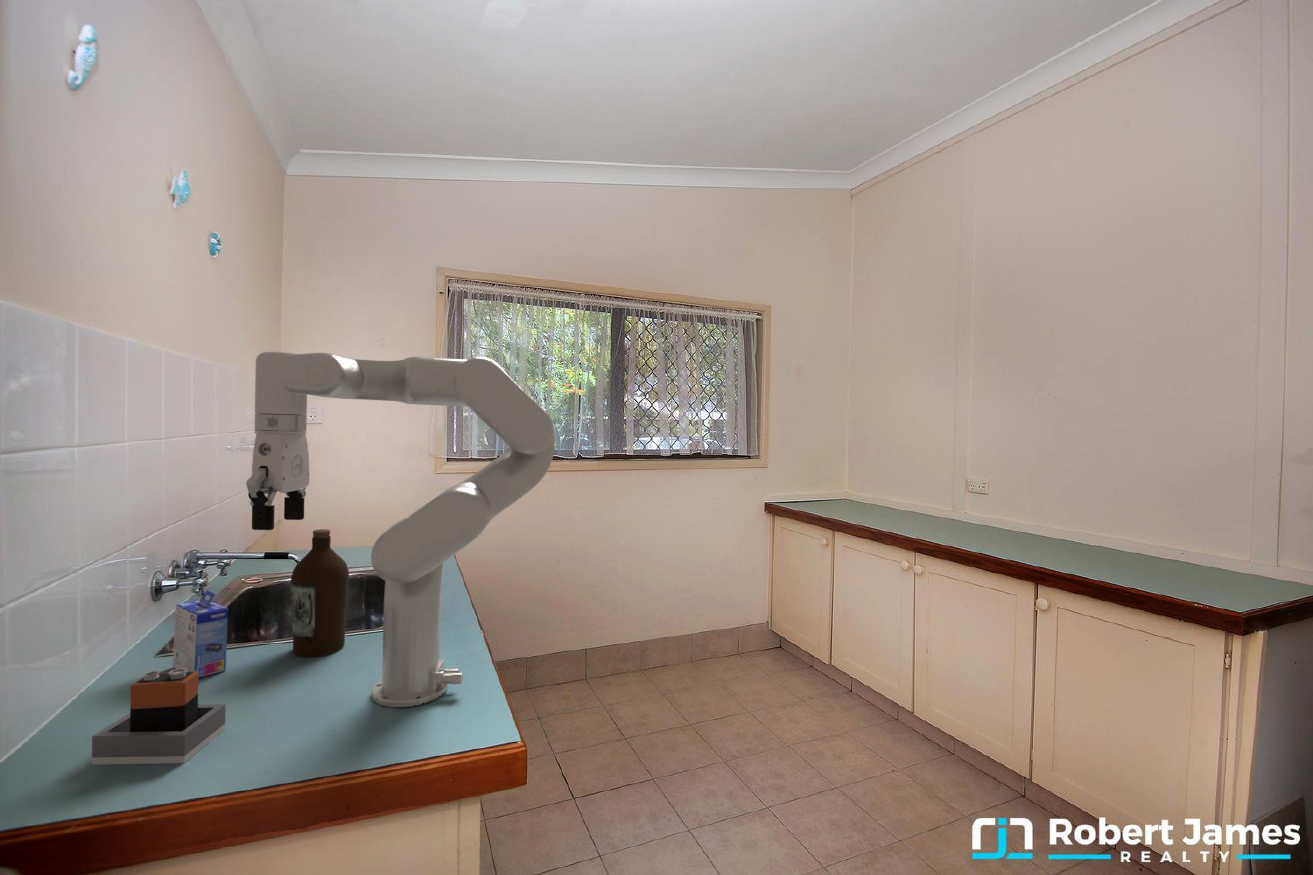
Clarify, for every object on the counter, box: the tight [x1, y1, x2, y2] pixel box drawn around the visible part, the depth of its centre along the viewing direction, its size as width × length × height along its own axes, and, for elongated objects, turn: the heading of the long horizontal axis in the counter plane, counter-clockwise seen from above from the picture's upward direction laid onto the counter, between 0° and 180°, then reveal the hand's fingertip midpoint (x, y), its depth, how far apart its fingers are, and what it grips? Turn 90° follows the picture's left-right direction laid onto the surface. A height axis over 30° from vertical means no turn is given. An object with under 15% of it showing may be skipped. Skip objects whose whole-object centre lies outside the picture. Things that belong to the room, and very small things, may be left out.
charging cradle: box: [91, 703, 227, 766], centre depth 87 cm, size 12×9×4 cm
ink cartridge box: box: [172, 590, 229, 679], centre depth 112 cm, size 10×6×14 cm, turn 58°
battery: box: [129, 668, 199, 732], centre depth 87 cm, size 4×7×10 cm, turn 103°
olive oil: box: [290, 528, 350, 658], centre depth 124 cm, size 11×11×25 cm
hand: (279, 524), depth 102 cm, fingers open, 9 cm apart
